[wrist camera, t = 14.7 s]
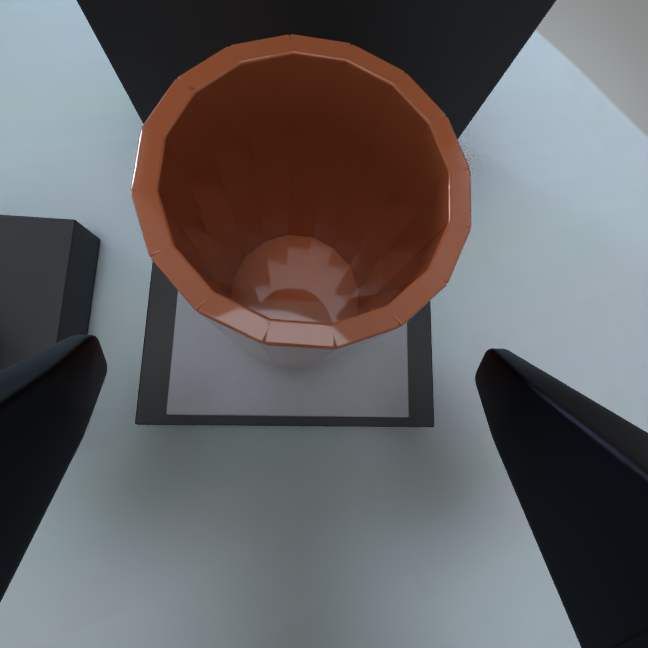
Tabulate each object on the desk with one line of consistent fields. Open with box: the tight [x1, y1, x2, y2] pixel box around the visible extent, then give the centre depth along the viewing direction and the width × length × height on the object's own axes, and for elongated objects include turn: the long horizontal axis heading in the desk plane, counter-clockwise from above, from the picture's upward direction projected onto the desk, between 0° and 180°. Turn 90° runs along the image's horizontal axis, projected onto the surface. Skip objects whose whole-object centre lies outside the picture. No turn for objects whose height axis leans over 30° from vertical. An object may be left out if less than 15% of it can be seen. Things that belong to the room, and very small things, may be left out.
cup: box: [131, 34, 471, 369], centre depth 12 cm, size 7×7×10 cm
